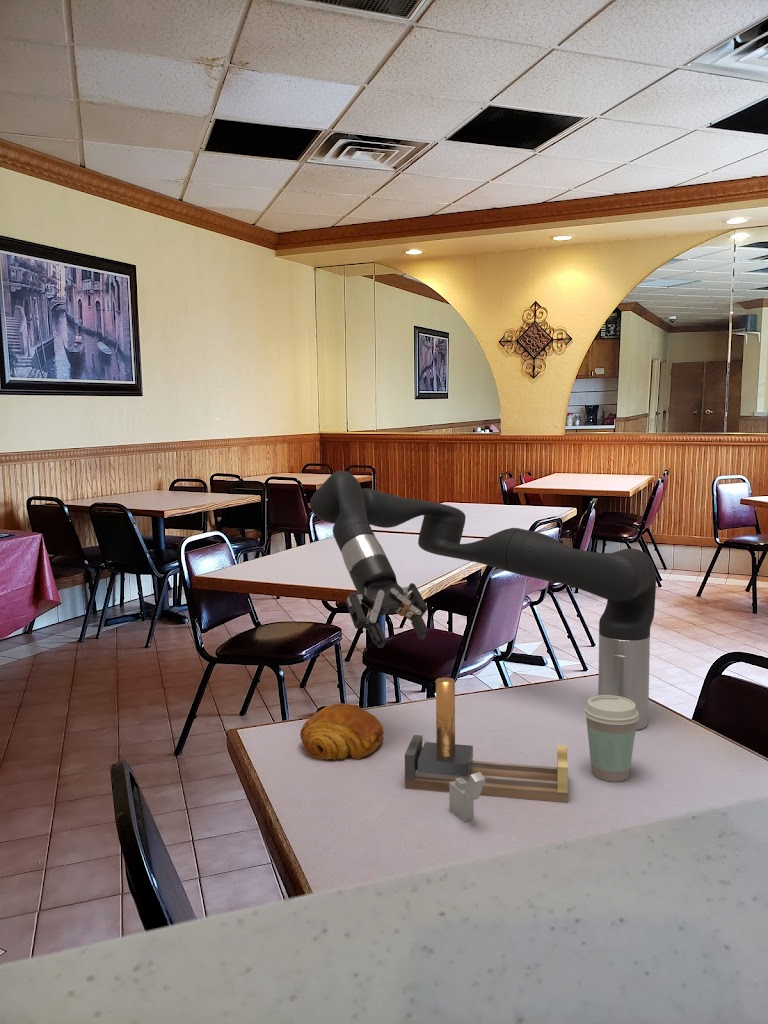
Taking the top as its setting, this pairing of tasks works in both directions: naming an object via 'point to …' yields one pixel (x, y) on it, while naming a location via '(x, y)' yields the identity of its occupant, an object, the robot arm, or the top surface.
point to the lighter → (465, 796)
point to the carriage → (445, 738)
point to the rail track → (496, 777)
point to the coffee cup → (611, 735)
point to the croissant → (341, 733)
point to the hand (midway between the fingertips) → (403, 641)
